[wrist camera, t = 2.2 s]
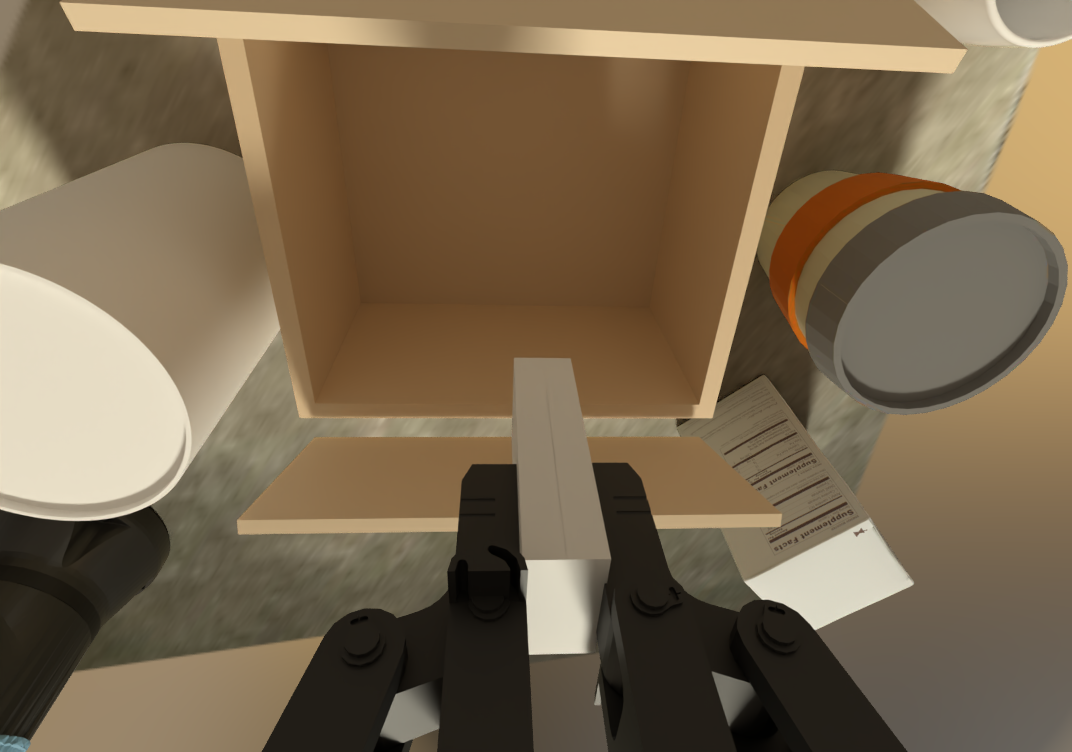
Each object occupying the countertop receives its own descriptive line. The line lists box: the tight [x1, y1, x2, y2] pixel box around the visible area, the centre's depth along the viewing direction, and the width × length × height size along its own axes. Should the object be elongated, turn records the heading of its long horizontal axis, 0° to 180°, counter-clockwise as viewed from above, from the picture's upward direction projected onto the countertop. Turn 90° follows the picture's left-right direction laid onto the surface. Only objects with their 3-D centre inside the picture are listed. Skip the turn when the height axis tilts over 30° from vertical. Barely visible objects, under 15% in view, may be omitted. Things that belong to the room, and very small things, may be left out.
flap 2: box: [237, 437, 782, 534], centre depth 28 cm, size 22×10×1 cm
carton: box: [217, 38, 805, 418], centre depth 33 cm, size 24×22×14 cm
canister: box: [0, 143, 280, 521], centre depth 33 cm, size 14×14×20 cm
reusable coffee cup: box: [757, 170, 1068, 415], centre depth 37 cm, size 13×13×15 cm
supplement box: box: [677, 375, 914, 630], centre depth 46 cm, size 10×9×17 cm
